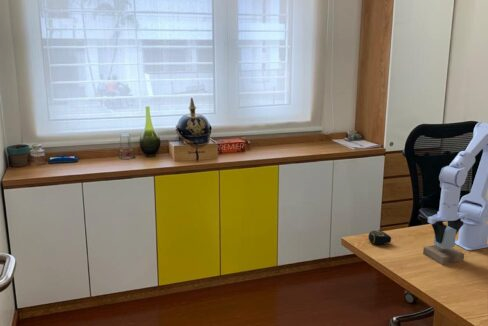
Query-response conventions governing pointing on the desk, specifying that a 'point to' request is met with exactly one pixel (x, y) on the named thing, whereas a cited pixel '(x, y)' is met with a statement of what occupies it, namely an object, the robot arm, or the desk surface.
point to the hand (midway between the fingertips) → (444, 241)
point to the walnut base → (443, 254)
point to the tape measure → (379, 237)
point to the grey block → (447, 238)
